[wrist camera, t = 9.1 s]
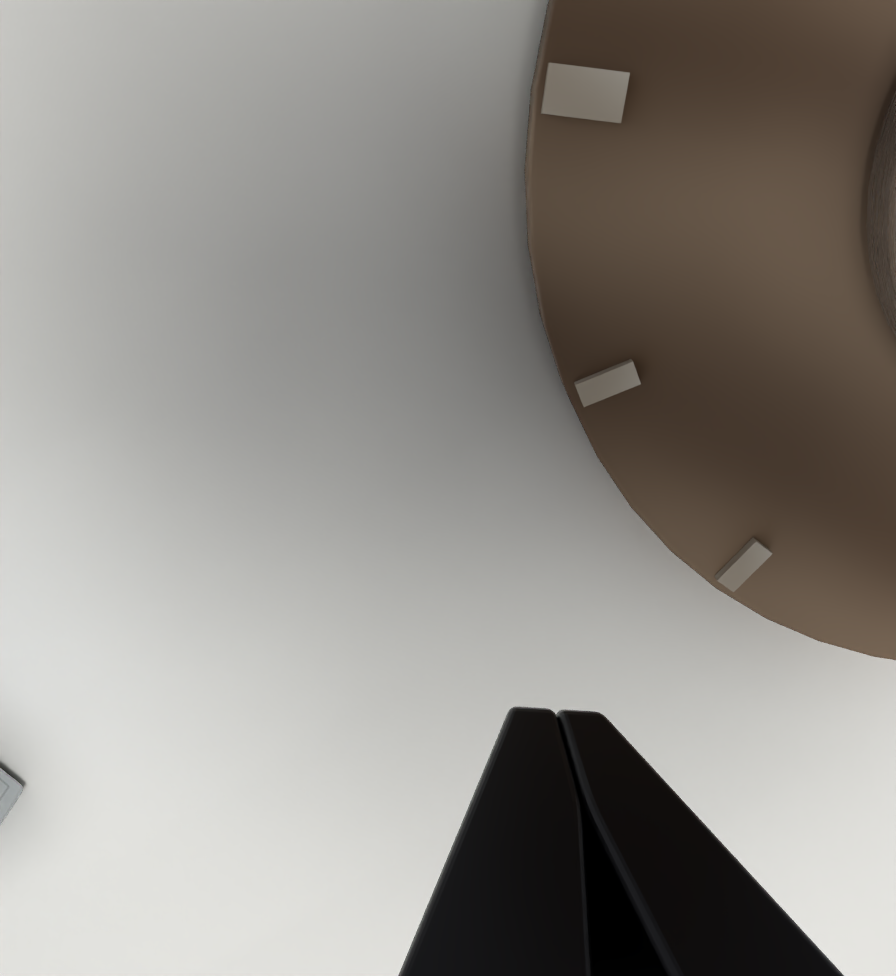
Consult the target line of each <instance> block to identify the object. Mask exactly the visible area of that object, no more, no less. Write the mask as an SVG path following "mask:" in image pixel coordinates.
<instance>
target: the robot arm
mask: <svg viewBox="0 0 896 976" xmlns="http://www.w3.org/2000/svg"><path fill="white" fill-rule="evenodd" d="M399 976H844V975H843V974H842V973H841V972H840V971H839V970H838V969H837V968H836V967H835V965H834V964H833V963H832V962H831V961H830V960H829V959H828V958H827V957H826V956H825V955H824V954H823V952H822V951H821V950H820V949H819V948H818V947H817V946H816V945H815V944H814V943H813V942H812V941H811V939H810V938H809V937H808V936H807V935H806V934H805V933H804V932H803V931H802V930H801V929H800V927H799V926H798V925H797V924H796V923H795V922H794V921H793V920H792V919H791V918H790V917H789V916H788V914H787V913H786V912H785V911H784V910H783V909H782V908H781V907H780V906H779V905H778V904H777V903H776V901H775V900H774V899H773V898H772V897H771V896H770V895H769V894H768V893H767V892H766V891H765V889H764V888H763V887H762V886H761V885H760V884H759V883H758V882H757V881H756V880H755V879H754V878H753V876H752V875H751V874H750V873H749V872H748V871H747V870H746V869H745V868H744V867H743V866H742V865H741V863H740V862H739V861H738V860H737V859H736V858H735V857H734V856H733V855H732V854H731V853H730V851H729V850H728V849H727V848H726V847H725V846H724V845H723V844H722V843H721V842H720V841H719V840H718V838H717V837H716V836H715V835H714V834H713V833H712V832H711V831H710V830H709V829H708V828H707V827H706V825H705V824H704V823H703V822H702V821H701V820H700V819H699V818H698V817H697V816H696V815H695V813H694V812H693V811H692V810H691V809H690V808H689V807H688V806H687V805H686V804H685V803H684V802H683V800H682V799H681V798H680V797H679V796H678V795H677V794H676V793H675V792H674V791H673V790H672V789H671V787H670V786H669V785H668V784H667V783H666V782H665V781H664V780H663V779H662V778H661V777H660V775H659V774H658V773H657V772H656V771H655V770H654V769H653V768H652V767H651V766H650V765H649V764H648V762H647V761H646V760H645V759H644V758H643V757H642V756H641V755H640V754H639V753H638V752H637V750H636V749H635V748H634V747H633V746H632V745H631V744H630V743H629V742H628V741H627V740H626V739H625V737H624V736H623V735H622V734H621V733H620V732H619V731H618V730H617V729H616V728H615V727H614V726H613V724H612V723H611V722H610V721H609V720H608V719H607V718H606V717H605V716H604V715H602V714H601V713H598V712H592V711H577V710H561V711H559V712H558V713H557V714H556V715H555V713H554V712H553V711H551V710H550V709H546V708H531V707H513V708H511V709H510V710H509V712H508V714H507V716H506V718H505V721H504V723H503V726H502V728H501V730H500V733H499V735H498V738H497V740H496V742H495V745H494V747H493V750H492V752H491V754H490V757H489V759H488V762H487V764H486V766H485V769H484V771H483V774H482V776H481V778H480V781H479V783H478V786H477V788H476V790H475V793H474V795H473V798H472V800H471V802H470V805H469V807H468V810H467V812H466V814H465V817H464V819H463V822H462V824H461V827H460V829H459V831H458V834H457V836H456V839H455V841H454V843H453V846H452V848H451V851H450V853H449V855H448V858H447V860H446V863H445V865H444V867H443V870H442V872H441V875H440V877H439V879H438V882H437V884H436V887H435V889H434V891H433V894H432V896H431V899H430V901H429V903H428V906H427V908H426V911H425V913H424V915H423V918H422V920H421V923H420V925H419V928H418V930H417V932H416V935H415V937H414V940H413V942H412V944H411V947H410V949H409V952H408V954H407V956H406V959H405V961H404V964H403V966H402V968H401V971H400V973H399Z"/></svg>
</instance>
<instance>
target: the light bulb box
mask: <svg viewBox="0 0 896 976" xmlns="http://www.w3.org/2000/svg"><path fill="white" fill-rule="evenodd" d="M22 791H23V786H22V785H21V784H20V783H19V782H18V781H16V780H15V779H14V778H12V777H11V776H10V775H9V774H7V773H6V772H5V771H4V770H2V769H1V768H0V825H1V823H2V822H3V820H4V819H5V817H6V816H7V814H8V813H9V811H10V810H11V808H12V807H13V805H14V804H15V802H16V800H17V799H18V797H19V796H20V794H21V793H22Z"/></svg>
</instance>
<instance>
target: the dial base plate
mask: <svg viewBox="0 0 896 976" xmlns="http://www.w3.org/2000/svg"><path fill="white" fill-rule="evenodd" d="M895 89H896V0H549V3H548V6H547V11H546V16H545V21H544V26H543V31H542V36H541V41H540V46H539V52H538V57H537V62H536V67H535V72H534V77H533V82H532V87H531V94H530V107H529V120H528V133H527V146H526V158H525V192H526V214H527V237H528V249H529V255H530V260H531V266H532V272H533V278H534V283H535V289H536V295H537V300H538V306H539V312H540V316H541V319H542V322H543V325H544V329H545V332H546V335H547V338H548V341H549V344H550V347H551V351H552V354H553V357H554V360H555V363H556V366H557V370H558V373H559V376H560V378H561V381H562V383H563V385H564V387H565V390H566V392H567V394H568V397H569V399H570V401H571V403H572V405H573V407H574V409H575V411H576V413H577V416H578V418H579V420H580V422H581V424H582V426H583V428H584V430H585V432H586V434H587V436H588V438H589V441H590V443H591V445H592V447H593V449H594V451H595V453H596V455H597V457H598V458H599V460H600V461H601V463H602V464H603V466H604V467H605V469H606V470H607V472H608V473H609V475H610V476H611V478H612V479H613V481H614V482H615V484H616V485H617V487H618V488H619V490H620V491H621V493H622V494H623V496H624V497H625V499H626V500H627V502H628V503H629V505H630V506H631V508H632V509H633V510H634V511H635V512H636V513H637V514H638V515H639V516H640V517H641V519H642V520H643V521H644V522H645V523H646V524H647V525H648V526H649V527H650V528H651V530H652V531H653V532H654V533H655V534H656V535H657V536H658V537H659V538H660V539H661V541H662V542H663V543H664V544H665V545H666V546H667V547H668V548H669V549H670V550H671V552H673V553H674V554H675V555H676V556H678V557H679V558H680V559H681V560H682V561H684V562H685V563H686V564H687V565H688V566H690V567H691V568H692V569H693V570H695V571H696V572H697V573H698V574H699V575H701V576H702V577H703V578H704V579H706V580H707V581H708V582H709V583H710V584H712V585H713V586H714V587H715V588H717V589H718V590H720V591H722V592H723V593H725V594H727V595H728V596H730V597H731V598H733V599H735V600H736V601H738V602H740V603H741V604H743V605H745V606H746V607H748V608H750V609H751V610H753V611H755V612H756V613H758V614H760V615H761V616H763V617H765V618H766V619H769V620H771V621H773V622H776V623H778V624H780V625H783V626H785V627H787V628H790V629H792V630H794V631H797V632H799V633H801V634H804V635H806V636H808V637H811V638H813V639H815V640H818V641H821V642H824V643H828V644H831V645H835V646H838V647H842V648H846V649H849V650H853V651H856V652H860V653H863V654H867V655H870V656H874V657H880V658H887V659H893V660H896V336H895V335H894V333H893V331H892V329H891V328H890V326H889V324H888V322H887V319H886V317H885V314H884V312H883V309H882V307H881V304H880V301H879V299H878V296H877V294H876V289H875V285H874V280H873V276H872V271H871V267H870V263H869V252H868V240H867V228H866V223H867V204H868V187H869V181H870V176H871V170H872V164H873V159H874V153H875V148H876V145H877V141H878V138H879V135H880V131H881V128H882V125H883V121H884V118H885V114H886V111H887V108H888V106H889V103H890V101H891V98H892V96H893V94H894V91H895Z"/></svg>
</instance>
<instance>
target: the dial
mask: <svg viewBox="0 0 896 976" xmlns="http://www.w3.org/2000/svg"><path fill="white" fill-rule="evenodd" d="M866 228H867V240H868V252H869V263H870V267H871V271H872V276H873V280H874V285H875V289H876V294H877V296H878V299H879V301H880V304H881V307H882V309H883V312H884V314H885V317H886V319H887V322H888V324H889V326H890V328H891V329H892V331H893V333H894V335H895V336H896V89H895V91H894V94H893V96H892V98H891V101H890V103H889V106H888V108H887V111H886V114H885V118H884V121H883V125H882V128H881V131H880V135H879V138H878V141H877V145H876V148H875V153H874V159H873V164H872V170H871V176H870V181H869V187H868V204H867V223H866Z"/></svg>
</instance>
